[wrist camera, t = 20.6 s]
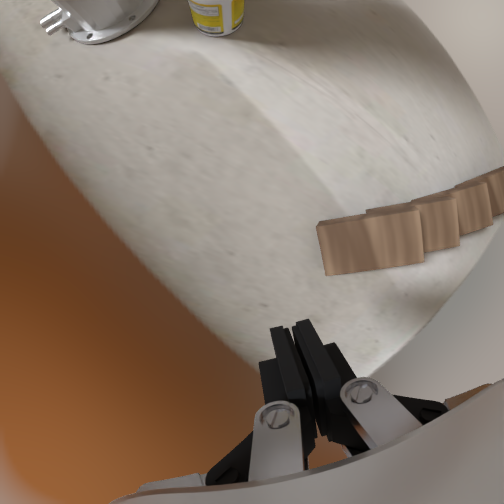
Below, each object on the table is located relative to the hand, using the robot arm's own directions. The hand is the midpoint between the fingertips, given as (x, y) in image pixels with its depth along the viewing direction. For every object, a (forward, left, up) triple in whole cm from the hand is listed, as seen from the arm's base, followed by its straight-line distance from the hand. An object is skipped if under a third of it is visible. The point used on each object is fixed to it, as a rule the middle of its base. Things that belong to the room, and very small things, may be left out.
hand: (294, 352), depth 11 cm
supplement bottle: (+1, +27, -18) cm, 32 cm away
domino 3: (+18, 0, -16) cm, 25 cm away
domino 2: (+12, 0, -16) cm, 20 cm away
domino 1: (+6, 0, -16) cm, 18 cm away
